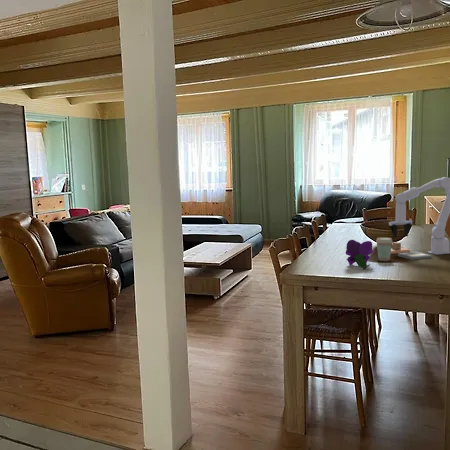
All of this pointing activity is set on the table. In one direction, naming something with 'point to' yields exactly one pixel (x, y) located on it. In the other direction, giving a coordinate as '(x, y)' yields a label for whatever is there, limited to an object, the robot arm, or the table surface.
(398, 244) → the pink panel with block
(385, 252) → the coffee cup
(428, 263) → the table surface
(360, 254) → the flower
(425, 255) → the ticket board
